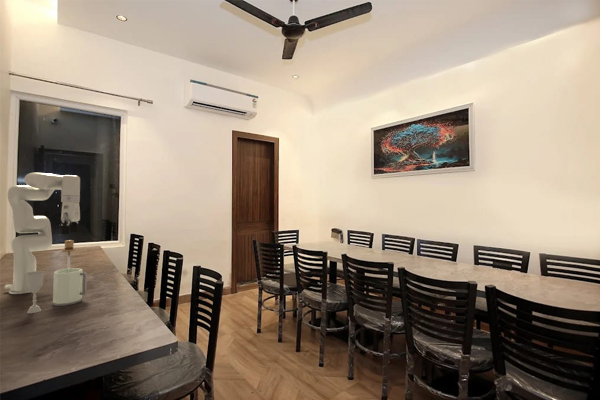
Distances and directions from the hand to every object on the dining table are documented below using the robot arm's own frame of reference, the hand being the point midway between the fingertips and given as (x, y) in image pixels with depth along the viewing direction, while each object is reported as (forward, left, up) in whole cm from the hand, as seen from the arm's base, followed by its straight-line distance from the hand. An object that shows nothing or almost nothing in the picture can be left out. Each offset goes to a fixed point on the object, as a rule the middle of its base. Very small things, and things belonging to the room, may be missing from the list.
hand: (70, 232), depth 152 cm
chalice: (-9, -11, -36) cm, 38 cm away
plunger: (0, 0, -25) cm, 25 cm away
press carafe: (0, 0, -35) cm, 35 cm away
